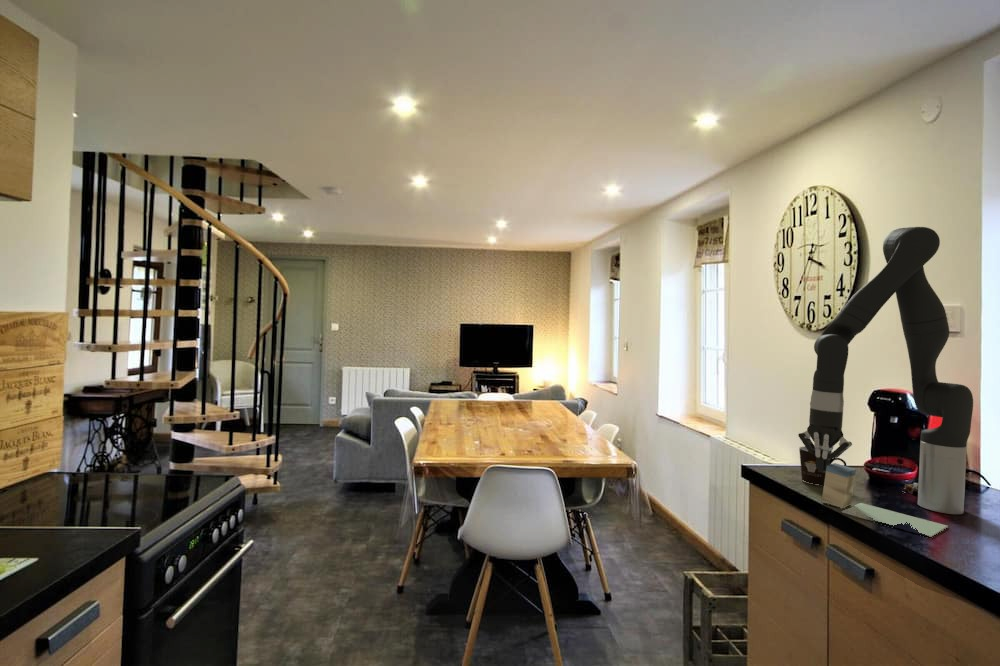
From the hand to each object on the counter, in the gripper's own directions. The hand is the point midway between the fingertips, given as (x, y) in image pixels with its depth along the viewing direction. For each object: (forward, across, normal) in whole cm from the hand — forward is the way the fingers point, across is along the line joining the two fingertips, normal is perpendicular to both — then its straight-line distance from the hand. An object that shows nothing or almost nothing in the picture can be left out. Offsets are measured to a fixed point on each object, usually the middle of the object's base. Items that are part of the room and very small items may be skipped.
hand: (822, 471), depth 138 cm
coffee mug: (+8, +7, -16) cm, 19 cm away
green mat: (+7, -16, 0) cm, 18 cm away
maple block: (+8, -4, 0) cm, 9 cm away
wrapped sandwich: (+8, -14, -33) cm, 37 cm away
